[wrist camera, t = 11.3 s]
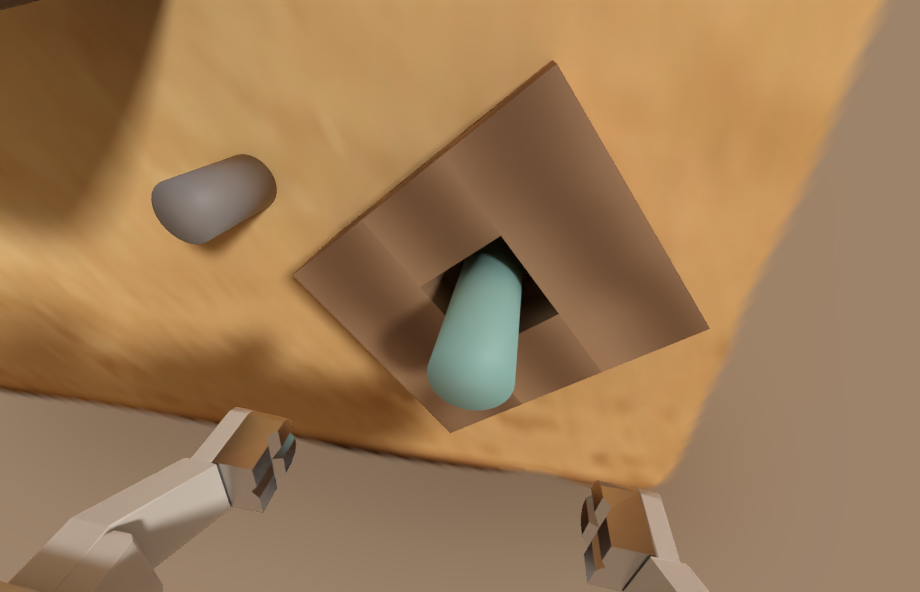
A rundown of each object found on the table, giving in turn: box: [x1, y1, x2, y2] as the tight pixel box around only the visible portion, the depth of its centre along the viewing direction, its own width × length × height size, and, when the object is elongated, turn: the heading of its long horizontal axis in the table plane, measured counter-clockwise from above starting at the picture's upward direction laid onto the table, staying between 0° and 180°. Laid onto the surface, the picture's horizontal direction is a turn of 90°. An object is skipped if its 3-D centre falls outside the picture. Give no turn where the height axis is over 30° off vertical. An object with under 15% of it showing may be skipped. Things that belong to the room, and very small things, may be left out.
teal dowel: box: [427, 236, 523, 411], centre depth 18 cm, size 3×3×10 cm
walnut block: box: [293, 60, 710, 433], centre depth 20 cm, size 14×12×5 cm
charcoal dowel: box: [151, 154, 277, 244], centre depth 20 cm, size 3×3×5 cm
